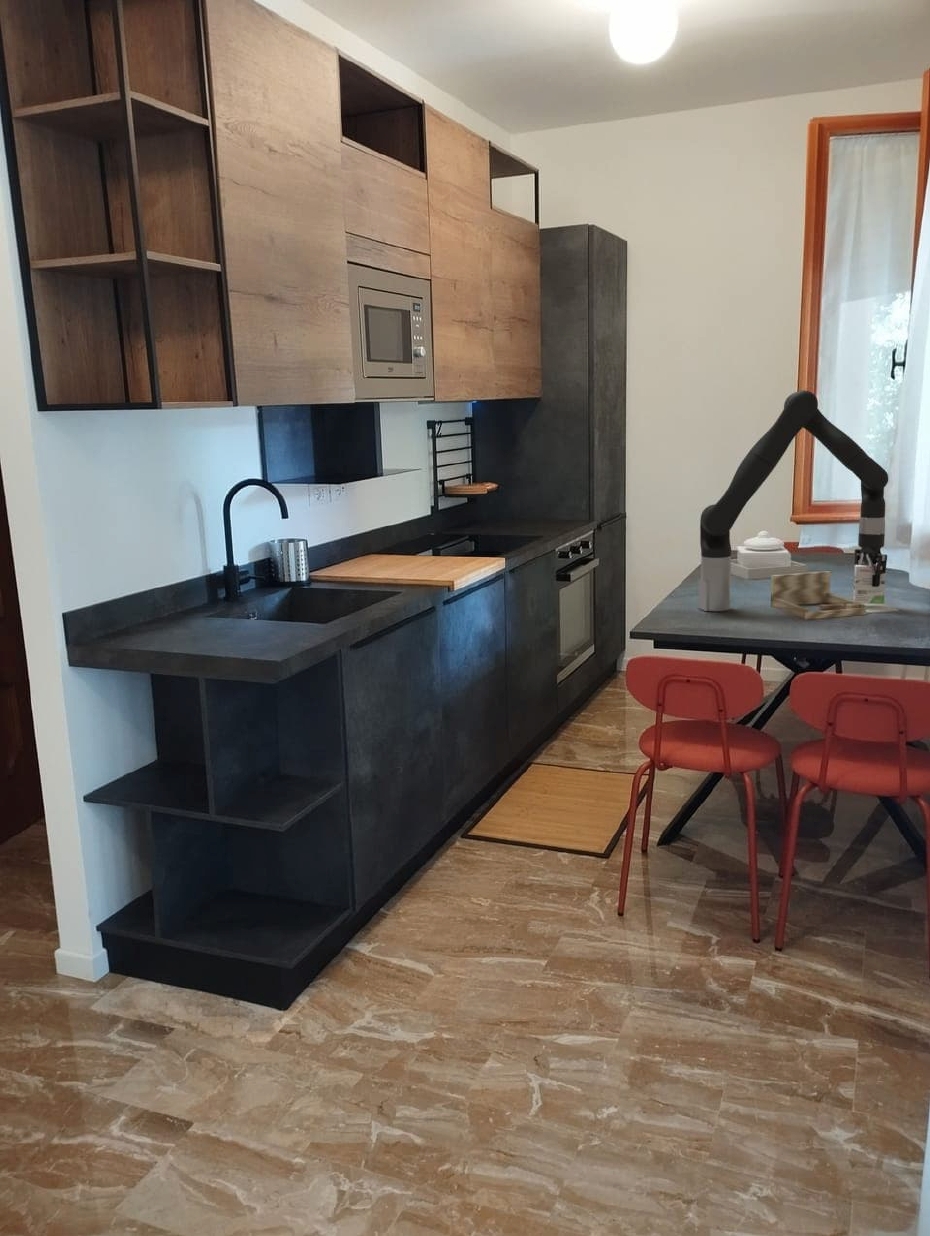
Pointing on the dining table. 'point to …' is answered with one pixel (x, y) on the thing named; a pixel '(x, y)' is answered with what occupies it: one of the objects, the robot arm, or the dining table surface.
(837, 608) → the walnut offcut
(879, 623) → the dining table surface
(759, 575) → the square grey tray
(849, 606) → the maple offcut
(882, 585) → the ink box
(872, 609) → the felt mat
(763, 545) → the white lidded dish
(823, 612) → the rack
